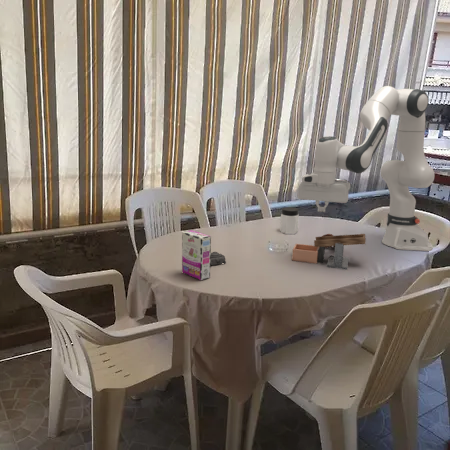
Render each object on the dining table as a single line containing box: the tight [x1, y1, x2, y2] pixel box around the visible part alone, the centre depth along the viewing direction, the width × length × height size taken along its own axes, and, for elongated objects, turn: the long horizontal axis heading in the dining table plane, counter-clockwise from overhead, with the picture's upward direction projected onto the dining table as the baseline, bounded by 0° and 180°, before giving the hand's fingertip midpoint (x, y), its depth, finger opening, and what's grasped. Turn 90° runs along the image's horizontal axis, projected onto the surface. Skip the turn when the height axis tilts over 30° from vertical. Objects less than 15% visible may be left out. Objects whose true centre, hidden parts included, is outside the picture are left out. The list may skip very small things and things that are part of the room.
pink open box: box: [291, 243, 319, 264], centre depth 195 cm, size 10×8×5 cm
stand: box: [317, 243, 350, 270], centre depth 191 cm, size 12×13×10 cm
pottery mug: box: [321, 233, 335, 249], centre depth 209 cm, size 12×10×8 cm
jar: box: [279, 206, 300, 235], centre depth 233 cm, size 9×8×12 cm
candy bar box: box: [181, 229, 212, 281], centre depth 173 cm, size 11×5×16 cm, turn 45°
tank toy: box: [210, 251, 227, 266], centre depth 188 cm, size 12×10×5 cm
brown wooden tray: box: [313, 233, 367, 247], centre depth 190 cm, size 20×9×3 cm, turn 73°
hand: (321, 211), depth 189 cm, fingers closed
